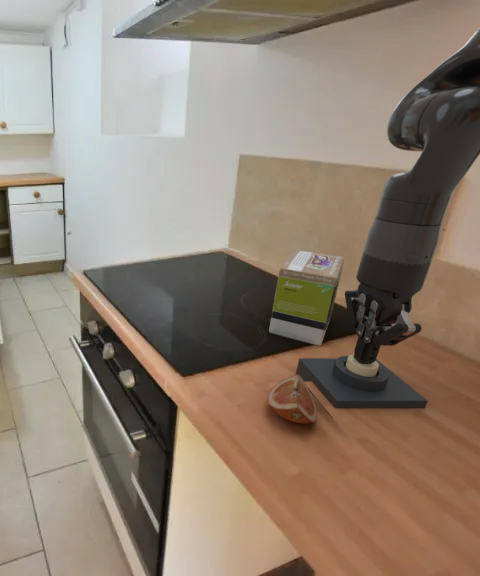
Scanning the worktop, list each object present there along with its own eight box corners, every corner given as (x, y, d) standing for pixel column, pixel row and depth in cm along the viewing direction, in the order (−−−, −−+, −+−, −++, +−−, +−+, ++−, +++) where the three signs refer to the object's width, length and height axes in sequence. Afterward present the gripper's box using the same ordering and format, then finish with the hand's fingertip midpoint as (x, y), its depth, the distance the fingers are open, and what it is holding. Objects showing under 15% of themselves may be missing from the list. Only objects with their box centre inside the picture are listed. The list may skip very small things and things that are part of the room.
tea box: (282, 308, 90) (294, 248, 84) (330, 319, 85) (347, 256, 79) (266, 333, 79) (279, 266, 73) (321, 348, 73) (340, 276, 68)
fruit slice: (315, 443, 51) (323, 413, 49) (261, 426, 54) (267, 398, 52) (315, 406, 58) (322, 379, 56) (267, 393, 61) (273, 367, 59)
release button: (364, 365, 61) (367, 354, 60) (381, 380, 57) (385, 368, 56) (339, 365, 61) (342, 354, 60) (355, 380, 57) (358, 368, 56)
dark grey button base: (370, 373, 66) (378, 349, 64) (420, 418, 55) (432, 390, 54) (295, 374, 66) (301, 349, 64) (332, 418, 55) (340, 390, 54)
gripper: (468, 269, 45) (421, 388, 52) (389, 240, 58) (359, 339, 64) (406, 269, 45) (366, 388, 52) (340, 240, 58) (315, 339, 64)
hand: (362, 361), depth 58 cm, fingers closed
